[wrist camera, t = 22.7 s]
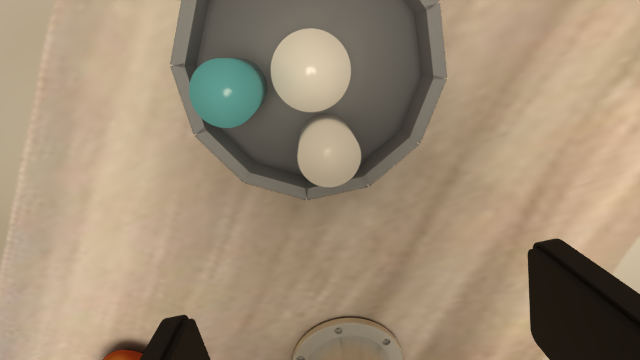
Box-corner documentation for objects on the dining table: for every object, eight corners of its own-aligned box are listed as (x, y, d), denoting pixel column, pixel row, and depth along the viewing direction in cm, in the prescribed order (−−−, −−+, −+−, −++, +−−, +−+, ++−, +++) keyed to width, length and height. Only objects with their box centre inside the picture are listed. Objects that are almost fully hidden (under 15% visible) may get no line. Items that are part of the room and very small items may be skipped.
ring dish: (442, 157, 33) (459, 170, 30) (229, 204, 34) (219, 222, 30) (414, -102, 27) (431, -128, 23) (150, -37, 27) (125, -52, 24)
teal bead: (273, 108, 30) (265, 120, 25) (221, 120, 31) (201, 134, 25) (259, 52, 29) (247, 50, 23) (204, 64, 29) (179, 66, 23)
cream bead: (355, 158, 32) (366, 180, 26) (305, 169, 32) (305, 193, 27) (346, 107, 31) (354, 119, 25) (293, 119, 31) (290, 133, 25)
